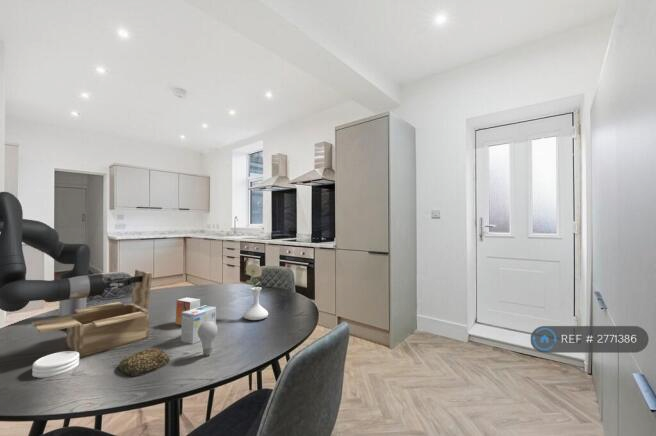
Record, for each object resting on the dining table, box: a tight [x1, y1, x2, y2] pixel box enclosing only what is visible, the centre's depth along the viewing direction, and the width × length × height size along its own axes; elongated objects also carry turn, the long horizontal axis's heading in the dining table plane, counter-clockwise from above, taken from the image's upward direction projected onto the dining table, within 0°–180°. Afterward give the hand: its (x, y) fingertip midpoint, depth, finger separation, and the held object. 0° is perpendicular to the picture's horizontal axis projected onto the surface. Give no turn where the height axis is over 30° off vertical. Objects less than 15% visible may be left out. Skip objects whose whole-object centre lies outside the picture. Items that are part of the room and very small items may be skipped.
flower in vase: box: [242, 263, 269, 321], centre depth 132 cm, size 13×11×25 cm
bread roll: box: [118, 348, 171, 377], centre depth 87 cm, size 13×12×5 cm
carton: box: [31, 301, 150, 359], centre depth 100 cm, size 26×29×11 cm
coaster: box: [31, 350, 80, 379], centre depth 84 cm, size 10×10×4 cm
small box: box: [175, 296, 201, 326], centre depth 123 cm, size 8×6×10 cm
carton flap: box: [130, 269, 153, 310], centre depth 112 cm, size 14×1×13 cm, turn 53°
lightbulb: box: [198, 321, 218, 356], centre depth 94 cm, size 6×6×11 cm
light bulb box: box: [180, 304, 217, 345], centre depth 108 cm, size 11×7×11 cm, turn 154°
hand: (141, 278), depth 112 cm, fingers closed
